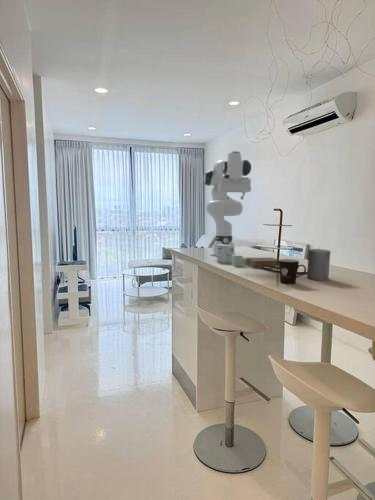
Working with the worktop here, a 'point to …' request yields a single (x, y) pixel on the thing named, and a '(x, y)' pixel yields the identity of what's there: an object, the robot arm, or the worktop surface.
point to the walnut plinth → (261, 262)
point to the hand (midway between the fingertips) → (234, 199)
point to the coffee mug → (289, 270)
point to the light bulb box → (225, 253)
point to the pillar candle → (318, 264)
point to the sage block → (236, 260)
